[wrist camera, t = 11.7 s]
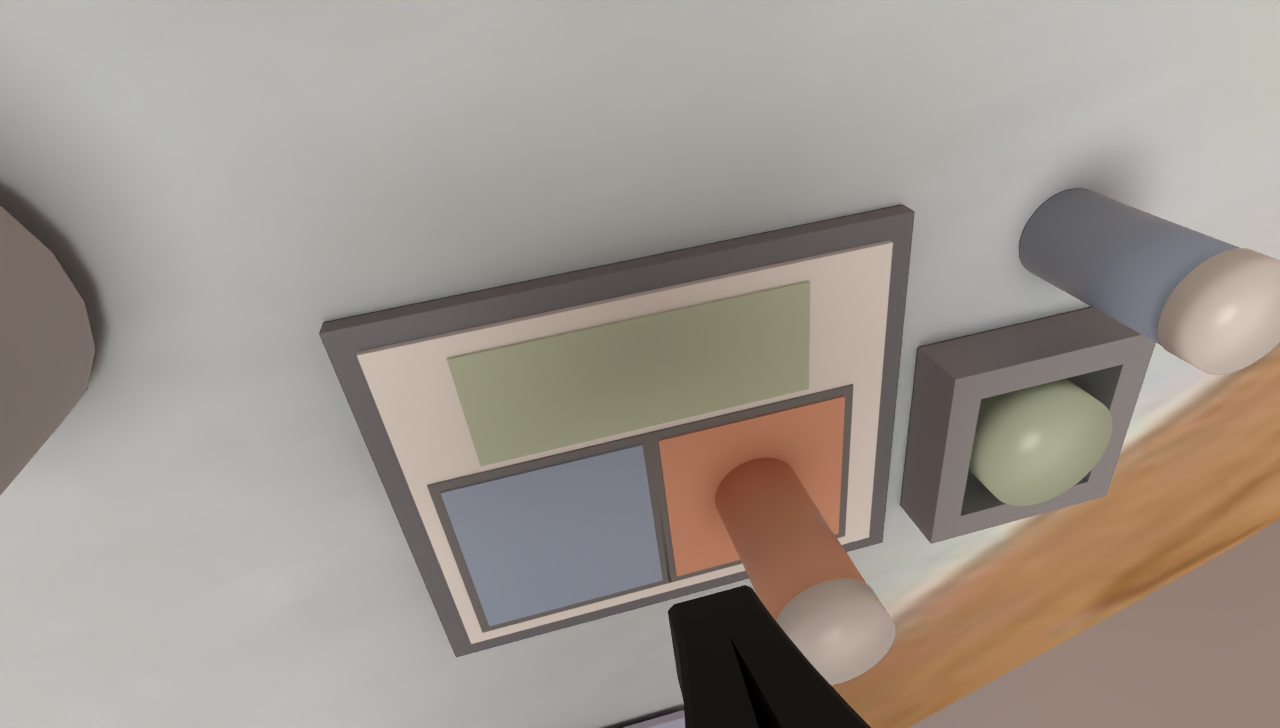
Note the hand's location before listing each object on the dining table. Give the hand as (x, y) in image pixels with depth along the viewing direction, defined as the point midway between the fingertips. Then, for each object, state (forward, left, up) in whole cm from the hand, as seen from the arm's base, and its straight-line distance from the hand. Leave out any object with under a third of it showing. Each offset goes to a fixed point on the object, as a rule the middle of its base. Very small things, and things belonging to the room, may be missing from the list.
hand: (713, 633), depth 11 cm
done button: (-6, -13, -9) cm, 17 cm away
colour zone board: (-4, -1, -10) cm, 11 cm away
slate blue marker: (0, -15, -10) cm, 18 cm away
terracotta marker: (-6, -4, -9) cm, 11 cm away
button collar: (-6, -14, -10) cm, 18 cm away
